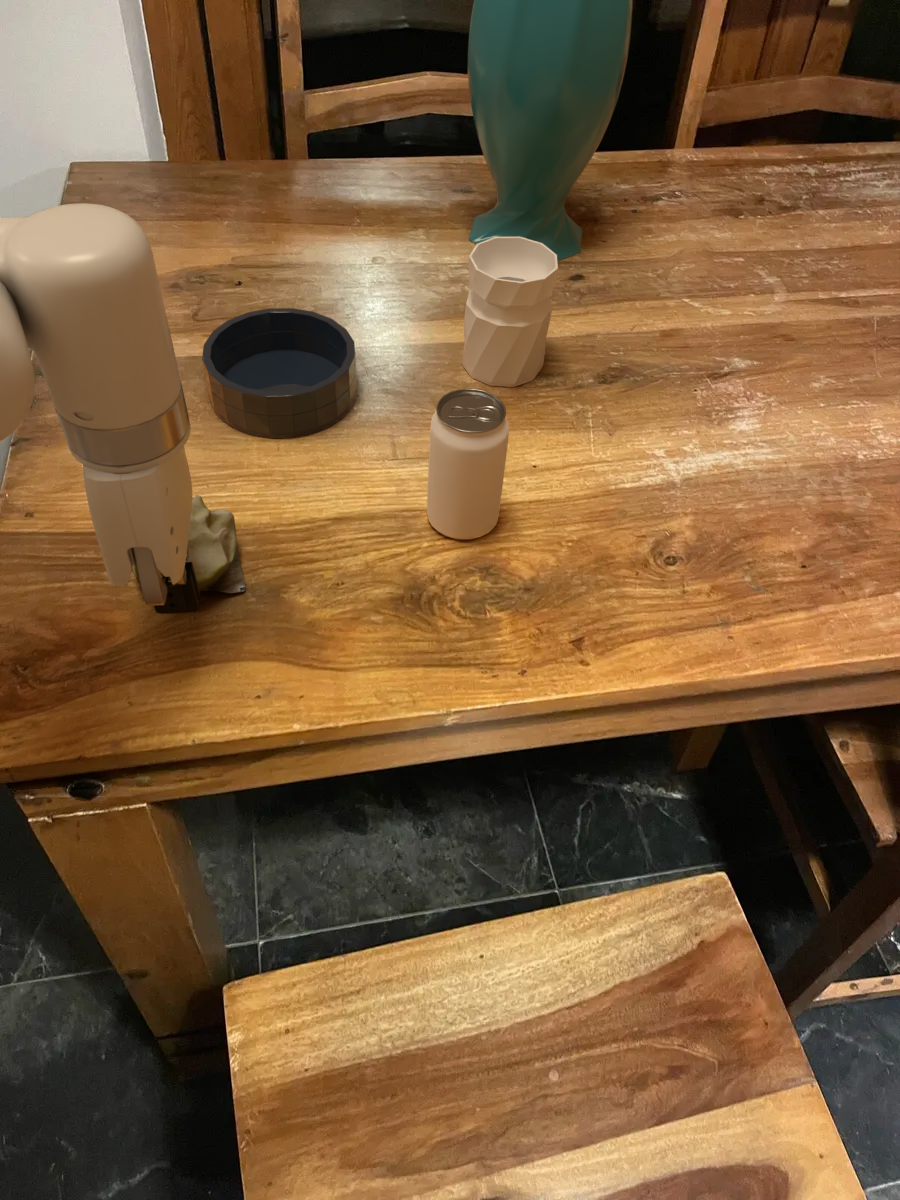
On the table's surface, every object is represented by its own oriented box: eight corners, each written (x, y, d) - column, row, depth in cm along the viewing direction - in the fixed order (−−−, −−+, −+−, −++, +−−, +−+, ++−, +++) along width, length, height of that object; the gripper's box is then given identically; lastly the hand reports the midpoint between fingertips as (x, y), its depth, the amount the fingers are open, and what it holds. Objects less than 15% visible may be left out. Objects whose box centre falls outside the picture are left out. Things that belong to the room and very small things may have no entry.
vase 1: (448, 260, 112) (463, -29, 90) (468, 194, 124) (486, -78, 101) (590, 278, 111) (642, -9, 89) (598, 210, 123) (646, -61, 100)
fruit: (164, 638, 75) (121, 572, 69) (138, 566, 81) (96, 500, 75) (269, 588, 77) (237, 519, 71) (236, 522, 83) (203, 453, 77)
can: (498, 544, 82) (512, 437, 73) (425, 541, 82) (429, 433, 73) (497, 493, 86) (510, 386, 77) (427, 490, 86) (432, 383, 77)
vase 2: (445, 367, 98) (451, 262, 89) (489, 329, 103) (499, 226, 94) (515, 398, 96) (529, 293, 86) (558, 359, 100) (575, 255, 91)
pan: (205, 441, 89) (197, 398, 85) (214, 351, 98) (207, 309, 95) (359, 436, 90) (358, 394, 87) (353, 348, 100) (351, 306, 96)
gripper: (81, 346, 62) (140, 537, 76) (39, 501, 53) (115, 687, 67) (196, 343, 63) (233, 534, 77) (175, 496, 53) (222, 682, 67)
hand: (178, 604), depth 72 cm, fingers closed
